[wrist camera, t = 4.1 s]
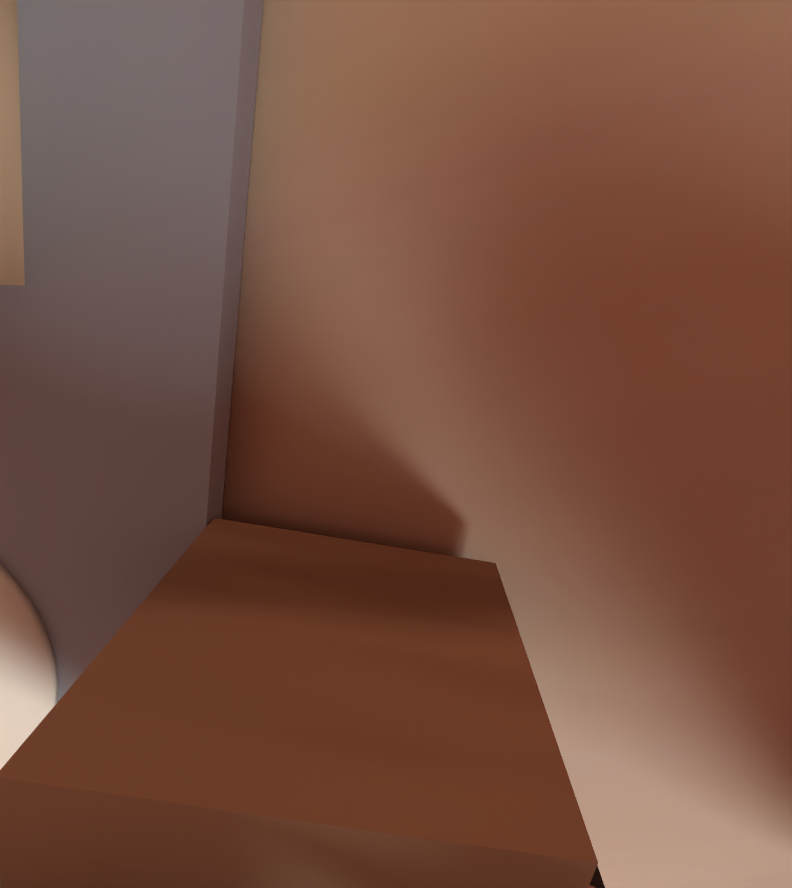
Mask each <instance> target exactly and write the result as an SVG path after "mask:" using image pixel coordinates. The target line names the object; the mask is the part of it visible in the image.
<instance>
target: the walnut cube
mask: <svg viewBox="0 0 792 888" xmlns="http://www.w3.org/2000/svg"><path fill="white" fill-rule="evenodd" d="M597 864H598V861H597V859H596V856H595V853H594V850H593V847H592V844H591V841H590V838H589V835H588V832H587V829H586V826H585V824H584V821H583V818H582V815H581V812H580V809H579V806H578V803H577V800H576V797H575V794H574V791H573V788H572V786H571V783H570V780H569V777H568V774H567V771H566V768H565V765H564V762H563V759H562V756H561V753H560V750H559V748H558V745H557V742H556V739H555V736H554V733H553V730H552V727H551V724H550V721H549V718H548V715H547V713H546V710H545V707H544V704H543V701H542V698H541V695H540V692H539V689H538V686H537V683H536V680H535V677H534V675H533V672H532V669H531V666H530V663H529V660H528V657H527V654H526V651H525V648H524V645H523V642H522V639H521V637H520V634H519V631H518V628H517V625H516V622H515V619H514V616H513V613H512V610H511V607H510V604H509V602H508V599H507V596H506V593H505V590H504V587H503V584H502V581H501V578H500V575H499V572H498V569H497V566H496V564H495V563H491V562H485V561H479V560H473V559H466V558H460V557H454V556H448V555H442V554H435V553H429V552H423V551H417V550H411V549H404V548H398V547H392V546H386V545H380V544H373V543H367V542H361V541H355V540H349V539H342V538H336V537H330V536H324V535H318V534H311V533H305V532H299V531H293V530H287V529H280V528H274V527H268V526H262V525H256V524H249V523H243V522H237V521H231V520H225V519H218V518H213V519H212V521H211V522H210V523H209V524H208V525H207V526H206V528H205V529H204V530H203V531H202V532H201V534H200V535H199V536H198V537H197V538H196V539H195V541H194V542H193V543H192V544H191V545H190V547H189V548H188V549H187V550H186V551H185V552H184V554H183V555H182V556H181V557H180V558H179V560H178V561H177V562H176V563H175V564H174V565H173V567H172V568H171V569H170V570H169V571H168V573H167V574H166V575H165V576H164V577H163V578H162V580H161V581H160V582H159V583H158V584H157V586H156V587H155V588H154V589H153V590H152V591H151V593H150V594H149V595H148V596H147V597H146V598H145V600H144V601H143V602H142V603H141V604H140V606H139V607H138V608H137V609H136V610H135V611H134V613H133V614H132V615H131V616H130V617H129V619H128V620H127V621H126V622H125V623H124V624H123V626H122V627H121V628H120V629H119V630H118V632H117V633H116V634H115V635H114V636H113V637H112V639H111V640H110V641H109V642H108V643H107V645H106V646H105V647H104V648H103V649H102V650H101V652H100V653H99V654H98V655H97V656H96V658H95V659H94V660H93V661H92V662H91V663H90V665H89V666H88V667H87V668H86V669H85V671H84V672H83V673H82V674H81V675H80V676H79V678H78V679H77V680H76V681H75V682H74V683H73V685H72V686H71V687H70V688H69V689H68V691H67V692H66V693H65V694H64V695H63V696H62V698H61V699H60V700H59V701H58V702H57V704H56V705H55V706H54V707H53V708H52V709H51V711H50V712H49V713H48V714H47V715H46V717H45V718H44V719H43V720H42V721H41V722H40V724H39V725H38V726H37V727H36V728H35V730H34V731H33V732H32V733H31V734H30V735H29V737H28V738H27V739H26V740H25V741H24V743H23V744H22V745H21V746H20V747H19V748H18V750H17V751H16V752H15V753H14V754H13V756H12V757H11V758H10V759H9V760H8V761H7V763H6V764H5V765H4V766H3V767H2V769H1V770H0V878H1V888H588V887H589V885H590V882H591V880H592V877H593V874H594V872H595V869H596V867H597Z"/></svg>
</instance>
